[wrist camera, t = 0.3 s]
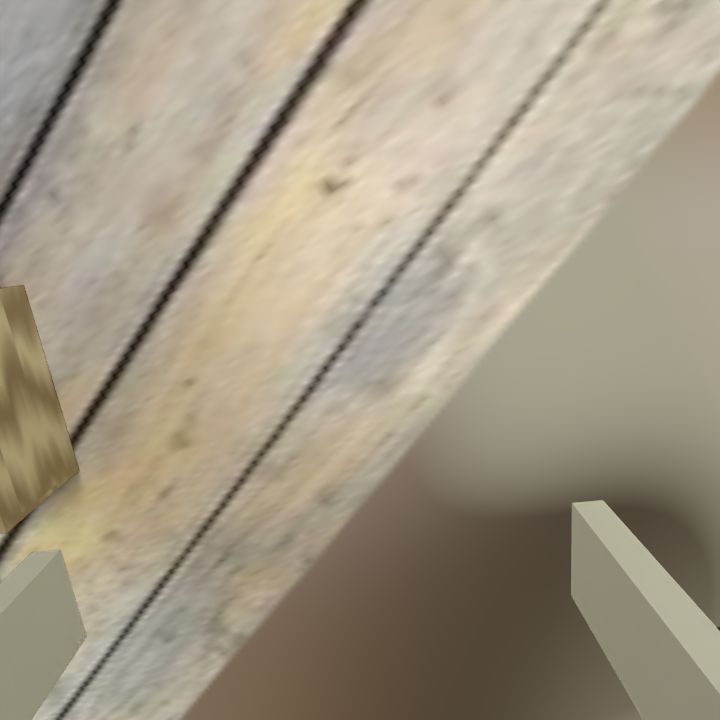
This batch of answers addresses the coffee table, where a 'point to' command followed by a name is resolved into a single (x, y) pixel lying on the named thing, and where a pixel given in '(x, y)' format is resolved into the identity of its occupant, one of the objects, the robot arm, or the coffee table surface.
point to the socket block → (27, 416)
